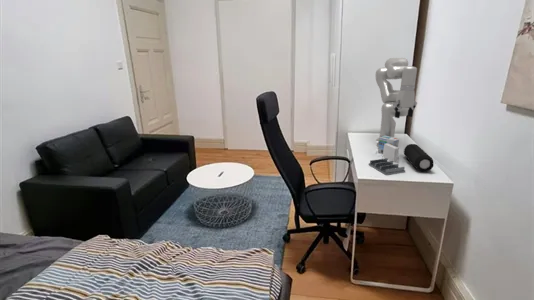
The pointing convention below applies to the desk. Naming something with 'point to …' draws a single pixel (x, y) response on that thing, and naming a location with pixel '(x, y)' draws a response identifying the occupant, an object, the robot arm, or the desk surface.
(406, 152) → the portable speaker
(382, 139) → the light bulb box
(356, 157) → the desk surface
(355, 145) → the desk surface
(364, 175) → the desk surface
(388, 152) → the white block
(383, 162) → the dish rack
